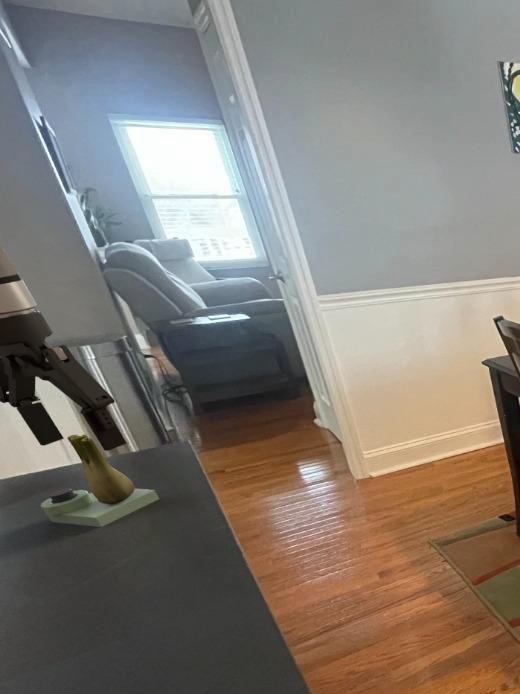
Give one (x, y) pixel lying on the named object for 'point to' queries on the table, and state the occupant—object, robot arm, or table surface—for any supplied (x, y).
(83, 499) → the scale
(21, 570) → the table surface
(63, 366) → the robot arm
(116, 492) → the fennel bulb
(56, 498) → the scale button
